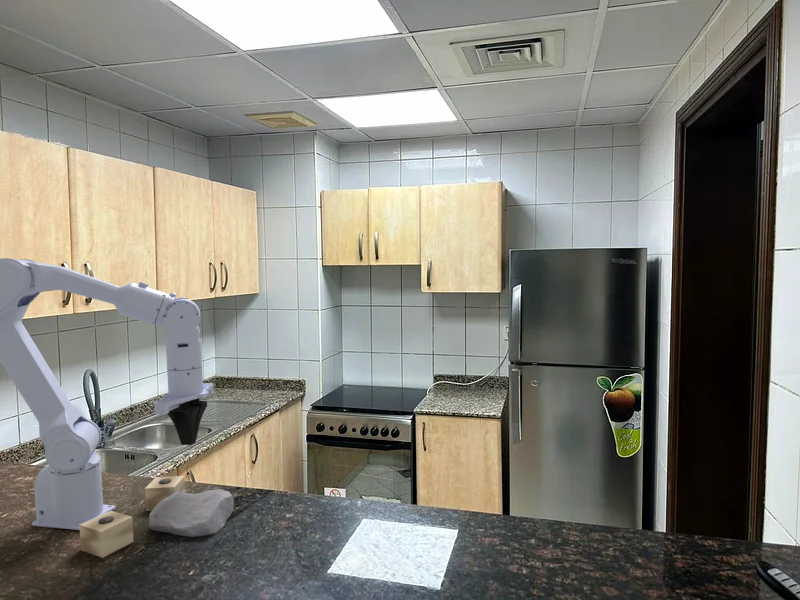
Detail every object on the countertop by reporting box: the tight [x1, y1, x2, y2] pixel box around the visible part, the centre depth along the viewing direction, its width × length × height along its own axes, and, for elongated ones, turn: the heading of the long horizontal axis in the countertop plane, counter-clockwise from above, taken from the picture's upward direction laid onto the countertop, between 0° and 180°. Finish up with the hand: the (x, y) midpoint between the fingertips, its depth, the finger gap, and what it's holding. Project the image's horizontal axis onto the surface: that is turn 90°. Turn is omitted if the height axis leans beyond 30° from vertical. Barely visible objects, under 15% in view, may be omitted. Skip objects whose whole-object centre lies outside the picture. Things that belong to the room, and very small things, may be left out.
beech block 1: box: [79, 510, 134, 559], centre depth 80 cm, size 5×5×4 cm
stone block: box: [147, 488, 235, 538], centre depth 87 cm, size 12×5×10 cm
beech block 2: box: [144, 475, 186, 512], centre depth 94 cm, size 5×5×4 cm
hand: (188, 443), depth 94 cm, fingers closed
